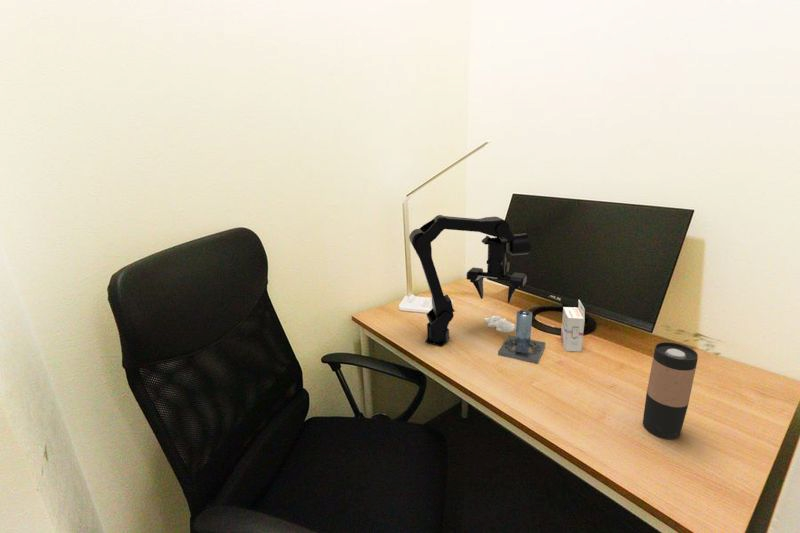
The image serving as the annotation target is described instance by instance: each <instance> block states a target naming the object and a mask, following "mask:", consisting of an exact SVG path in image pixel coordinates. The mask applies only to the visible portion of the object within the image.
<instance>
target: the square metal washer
mask: <svg viewBox="0 0 800 533" xmlns="http://www.w3.org/2000/svg"><path fill="white" fill-rule="evenodd" d="M513 347H515V335H511V334H508V335H507V337H506V338H505V340H504V341H503V344H501V346H500V348H499V349H498V351H497V355H498V356H501V357H506V358H511V359H514V360H518V361H524V362H527V363H532V364H537V365H538V364H539V362H540V359H541V358H542V355H543V353H544V350H545V347H546V342H544V341H540V340H534V339H531V338H530V349H532V350H531V351H529V352H528V353H522V352H517V351H515V350H514V349H513Z"/></svg>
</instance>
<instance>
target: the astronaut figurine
mask: <svg viewBox="0 0 800 533" xmlns="http://www.w3.org/2000/svg"><path fill="white" fill-rule="evenodd" d="M483 322H484V323H485V324H487V327H488V328H495V331H497V332H499V333H512V332H514V331H516V324H515V323H513V322H511V321H508V320H507V318H505V317H504V318H502V316H499V315H493V316H490V317H485V318H484V319H483Z"/></svg>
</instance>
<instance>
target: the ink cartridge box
mask: <svg viewBox="0 0 800 533" xmlns="http://www.w3.org/2000/svg"><path fill="white" fill-rule="evenodd" d="M577 304H578V307H575V306H573V307H571V306H563V307H562V308H563V309H562V321H561V330H560V340H561V342H562V344H563V347H564V350H565V352H579V353H580V352H582V349H583V342H584V340H583V339H584V332H585V331H584V330H585V322H586V320H585V319H586V317H585V316H586V315H585V314H586V309H585V307H584V305H583V303H582V301H581V300H580V299H578V303H577Z"/></svg>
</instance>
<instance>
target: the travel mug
mask: <svg viewBox="0 0 800 533" xmlns="http://www.w3.org/2000/svg"><path fill="white" fill-rule="evenodd" d="M652 356H653V358H652V361H651V362H652V363H651V368H650V373H649V378H648V383H647V388H646V395H645V402H644V409H643V417H642V424H643V427H644V429H645V430H646V431H648V432H649V434H651V435H654V436H655V437H658V438H660V439H664V440H677V439H678V438H679V437H680V436H681V433H682V430H683V427H684V422H685V418H686V415H687V411H688V408H689V407H688V406H689V402H690V400H691V395H692V394H691V393H692V389H693V383H694V378H695V374H696V371H697V370H696V369H697V364H698V358H699V357H698V356H699V355H698V353H697V352H696V350H694V349H693V348H691V347H688V346H686V345H683V344H681V343H676V342H670V341H667V342H660V343H657V344H656V345H655V346H654V350H653V355H652Z"/></svg>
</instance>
